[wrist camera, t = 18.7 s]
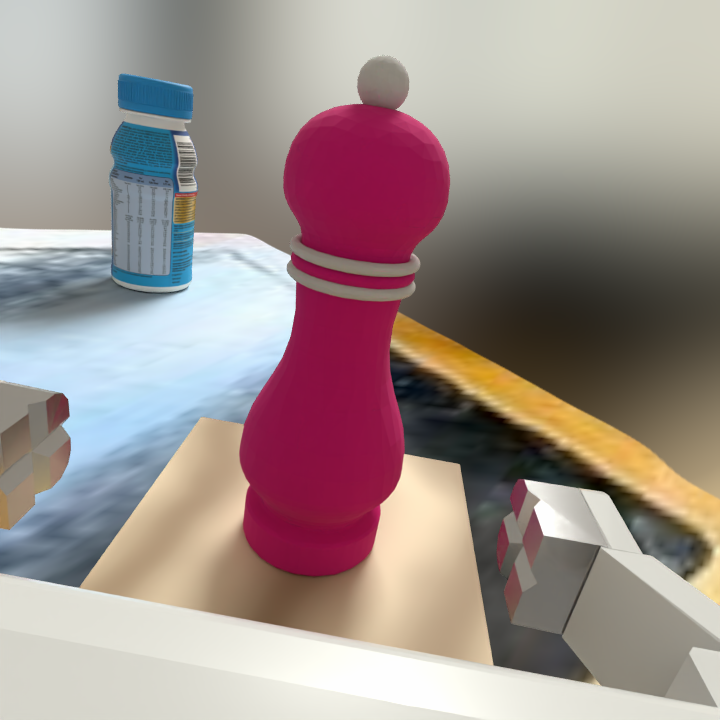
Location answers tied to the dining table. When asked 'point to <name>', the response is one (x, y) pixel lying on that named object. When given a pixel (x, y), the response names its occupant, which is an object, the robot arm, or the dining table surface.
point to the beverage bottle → (153, 186)
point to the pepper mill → (342, 329)
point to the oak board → (293, 591)
